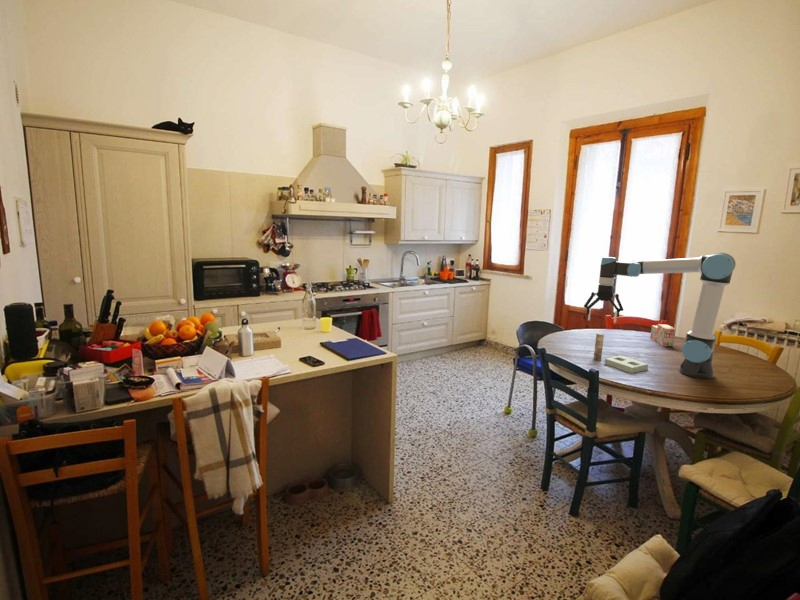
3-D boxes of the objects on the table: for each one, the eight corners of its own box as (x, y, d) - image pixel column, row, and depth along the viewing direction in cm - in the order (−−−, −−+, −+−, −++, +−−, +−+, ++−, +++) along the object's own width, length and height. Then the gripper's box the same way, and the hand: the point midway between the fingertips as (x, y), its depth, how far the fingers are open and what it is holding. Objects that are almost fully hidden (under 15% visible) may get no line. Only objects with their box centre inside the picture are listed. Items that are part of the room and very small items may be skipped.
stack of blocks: (649, 337, 291) (652, 320, 289) (659, 338, 290) (662, 321, 287) (662, 346, 270) (665, 328, 268) (673, 347, 269) (676, 328, 267)
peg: (602, 359, 239) (605, 334, 236) (598, 360, 237) (600, 335, 235) (596, 357, 243) (599, 333, 240) (591, 358, 241) (594, 333, 238)
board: (647, 369, 225) (648, 364, 224) (631, 373, 219) (632, 367, 218) (620, 360, 239) (621, 355, 238) (604, 363, 233) (605, 358, 232)
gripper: (629, 285, 232) (624, 321, 236) (581, 282, 240) (577, 317, 243) (632, 287, 225) (627, 324, 229) (582, 283, 233) (578, 320, 236)
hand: (601, 321), depth 236 cm, fingers open, 13 cm apart
